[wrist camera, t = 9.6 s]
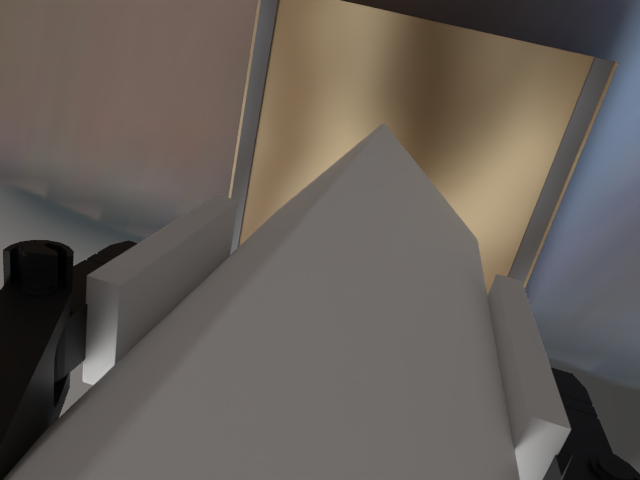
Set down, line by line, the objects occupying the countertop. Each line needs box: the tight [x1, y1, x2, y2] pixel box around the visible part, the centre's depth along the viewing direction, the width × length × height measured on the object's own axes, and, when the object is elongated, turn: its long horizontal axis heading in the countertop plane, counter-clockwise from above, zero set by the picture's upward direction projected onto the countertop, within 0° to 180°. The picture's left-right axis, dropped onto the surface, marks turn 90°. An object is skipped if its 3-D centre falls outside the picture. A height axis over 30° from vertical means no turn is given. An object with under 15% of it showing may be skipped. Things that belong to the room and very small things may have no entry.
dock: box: [229, 0, 619, 296], centre depth 27 cm, size 16×16×3 cm
